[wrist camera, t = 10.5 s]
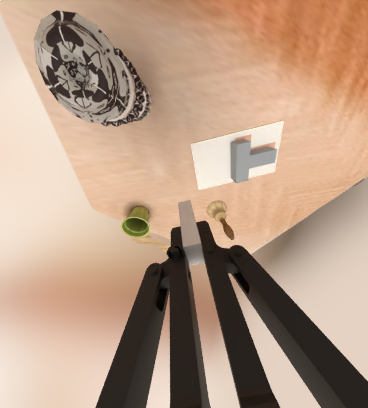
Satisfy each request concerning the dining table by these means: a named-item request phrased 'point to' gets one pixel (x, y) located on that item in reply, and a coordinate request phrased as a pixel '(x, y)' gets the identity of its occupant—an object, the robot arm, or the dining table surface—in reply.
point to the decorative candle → (88, 71)
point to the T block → (248, 159)
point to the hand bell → (220, 216)
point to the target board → (221, 154)
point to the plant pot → (136, 223)
